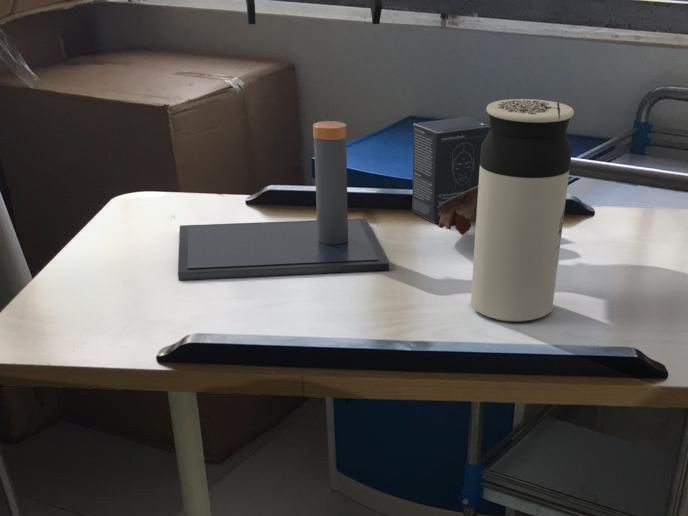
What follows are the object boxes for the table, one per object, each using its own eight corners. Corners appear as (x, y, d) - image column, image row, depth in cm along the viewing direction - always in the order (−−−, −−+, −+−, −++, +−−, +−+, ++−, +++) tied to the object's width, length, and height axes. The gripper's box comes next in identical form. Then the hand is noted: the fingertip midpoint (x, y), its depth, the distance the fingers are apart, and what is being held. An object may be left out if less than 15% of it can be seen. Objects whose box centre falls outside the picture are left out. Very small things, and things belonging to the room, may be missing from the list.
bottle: (319, 245, 98) (314, 128, 91) (315, 235, 101) (311, 121, 94) (350, 244, 99) (348, 127, 91) (346, 234, 101) (344, 120, 94)
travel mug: (462, 318, 84) (475, 112, 74) (479, 289, 91) (493, 95, 80) (545, 328, 83) (571, 119, 72) (557, 298, 89) (581, 101, 78)
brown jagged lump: (481, 271, 96) (451, 197, 94) (445, 282, 105) (416, 215, 103) (567, 226, 99) (540, 154, 97) (525, 241, 108) (499, 175, 106)
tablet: (178, 280, 91) (177, 272, 90) (180, 232, 104) (179, 224, 103) (389, 270, 95) (389, 262, 94) (366, 224, 107) (366, 217, 107)
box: (462, 204, 115) (467, 115, 109) (487, 216, 111) (493, 124, 105) (410, 212, 112) (412, 121, 105) (433, 224, 108) (437, 131, 102)
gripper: (400, -124, 104) (422, 39, 101) (183, -130, 100) (200, 40, 97) (410, -185, 97) (434, -11, 94) (176, -194, 93) (194, -12, 90)
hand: (315, 15), depth 96 cm, fingers open, 13 cm apart
